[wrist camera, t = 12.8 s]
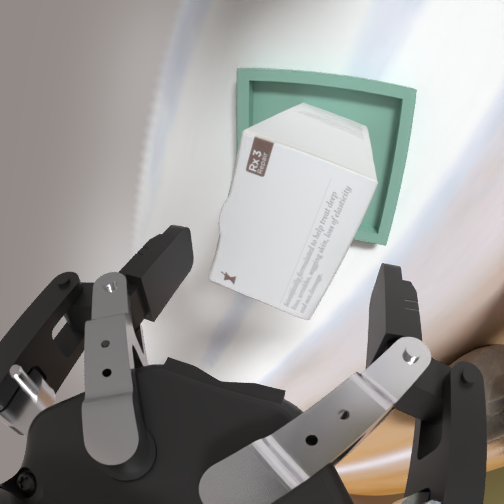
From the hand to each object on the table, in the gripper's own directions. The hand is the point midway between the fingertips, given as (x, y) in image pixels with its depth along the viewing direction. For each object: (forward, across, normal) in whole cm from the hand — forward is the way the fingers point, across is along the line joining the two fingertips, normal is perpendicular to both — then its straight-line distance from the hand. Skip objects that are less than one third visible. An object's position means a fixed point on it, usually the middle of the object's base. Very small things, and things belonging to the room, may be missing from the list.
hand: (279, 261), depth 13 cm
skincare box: (+16, 0, 0) cm, 16 cm away
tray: (+17, 0, 0) cm, 17 cm away
